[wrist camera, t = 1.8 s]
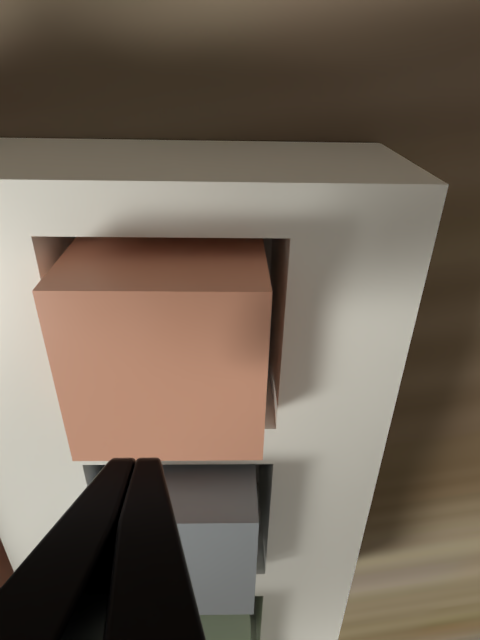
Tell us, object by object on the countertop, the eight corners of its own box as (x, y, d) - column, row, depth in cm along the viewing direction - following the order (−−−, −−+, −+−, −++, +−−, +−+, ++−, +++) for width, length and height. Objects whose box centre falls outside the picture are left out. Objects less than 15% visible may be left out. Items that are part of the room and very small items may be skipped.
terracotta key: (254, 363, 15) (262, 459, 11) (109, 363, 15) (72, 461, 11) (260, 224, 12) (272, 292, 9) (87, 223, 12) (31, 291, 9)
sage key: (245, 604, 22) (248, 708, 18) (147, 605, 22) (132, 710, 18) (247, 544, 19) (251, 651, 16) (138, 545, 19) (118, 653, 16)
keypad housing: (310, 570, 25) (337, 737, 19) (30, 573, 25) (-36, 744, 18) (380, 142, 14) (498, 214, 8) (-133, 135, 13) (-428, 204, 7)
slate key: (248, 507, 18) (253, 614, 15) (132, 508, 18) (109, 616, 15) (252, 420, 16) (259, 523, 12) (118, 420, 16) (87, 524, 12)
